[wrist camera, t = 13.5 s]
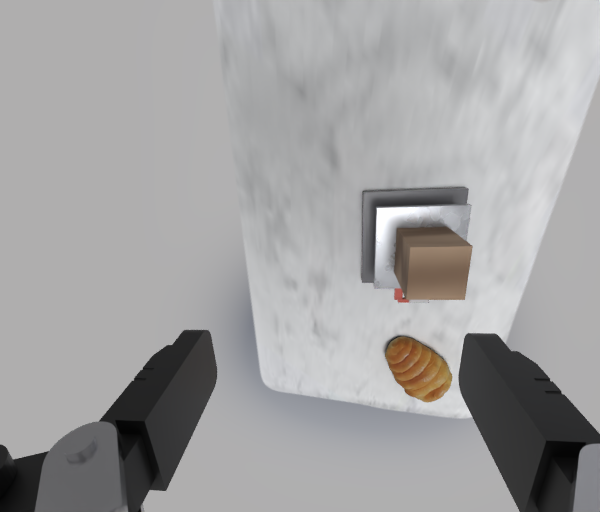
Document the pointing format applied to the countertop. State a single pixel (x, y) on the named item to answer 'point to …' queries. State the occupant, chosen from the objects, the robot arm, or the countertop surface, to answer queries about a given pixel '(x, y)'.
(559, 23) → the countertop surface
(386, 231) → the pan
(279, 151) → the countertop surface
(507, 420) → the robot arm
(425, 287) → the walnut block
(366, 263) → the base
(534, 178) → the countertop surface
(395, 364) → the pastry
